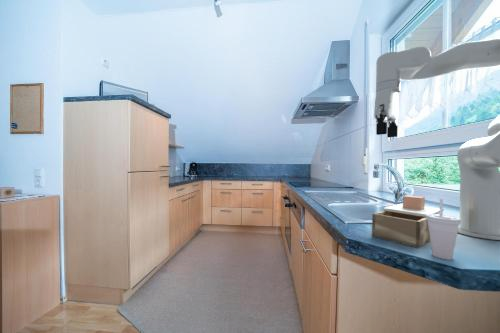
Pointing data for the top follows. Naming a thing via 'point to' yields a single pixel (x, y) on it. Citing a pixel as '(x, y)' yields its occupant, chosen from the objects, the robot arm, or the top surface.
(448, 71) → the robot arm
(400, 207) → the lid
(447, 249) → the smoothie
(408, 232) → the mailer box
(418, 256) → the top surface
